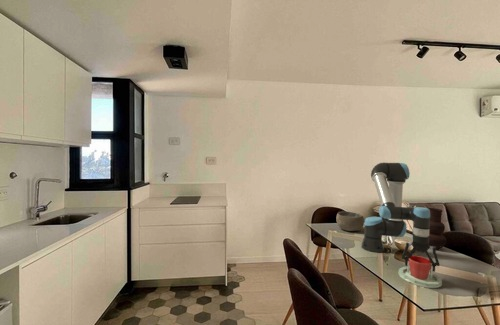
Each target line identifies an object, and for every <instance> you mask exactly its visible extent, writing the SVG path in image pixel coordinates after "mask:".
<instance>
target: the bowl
mask: <svg viewBox="0 0 500 325" xmlns="http://www.w3.org/2000/svg"><path fill="white" fill-rule="evenodd" d="M335 218H336V223H337V225H338V226H339V228H340V229H341V230H343V231H347V232H356V231H359V230H362V228H363V227H364V226H365V225H364V224H365V217H364V215H363V214H361V213H357V212H353V211H338V212H337V214H336V217H335Z"/></svg>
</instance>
